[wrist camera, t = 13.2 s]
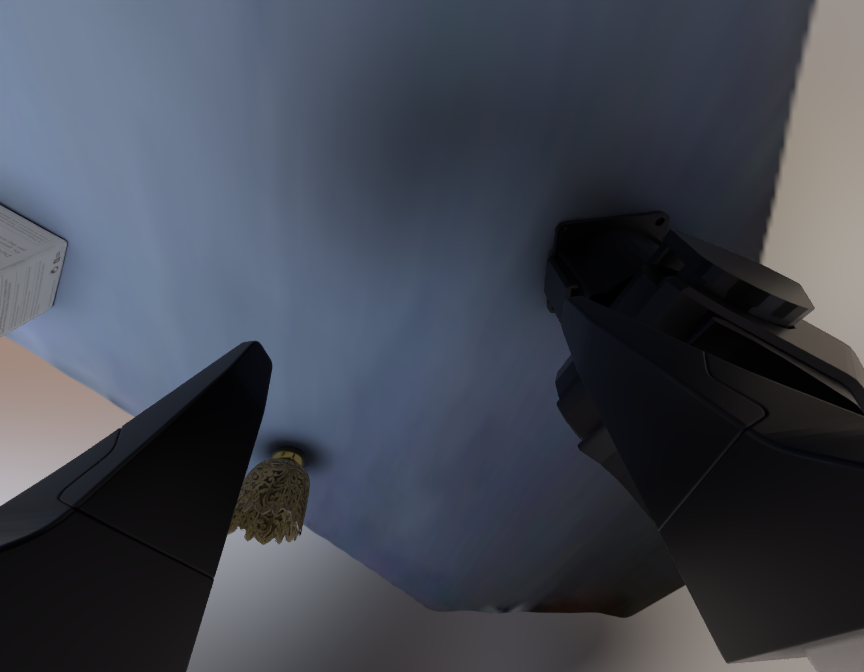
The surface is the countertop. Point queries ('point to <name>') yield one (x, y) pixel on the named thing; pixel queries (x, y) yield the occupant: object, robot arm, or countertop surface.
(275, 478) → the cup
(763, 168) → the countertop surface
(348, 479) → the countertop surface
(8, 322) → the supplement box
